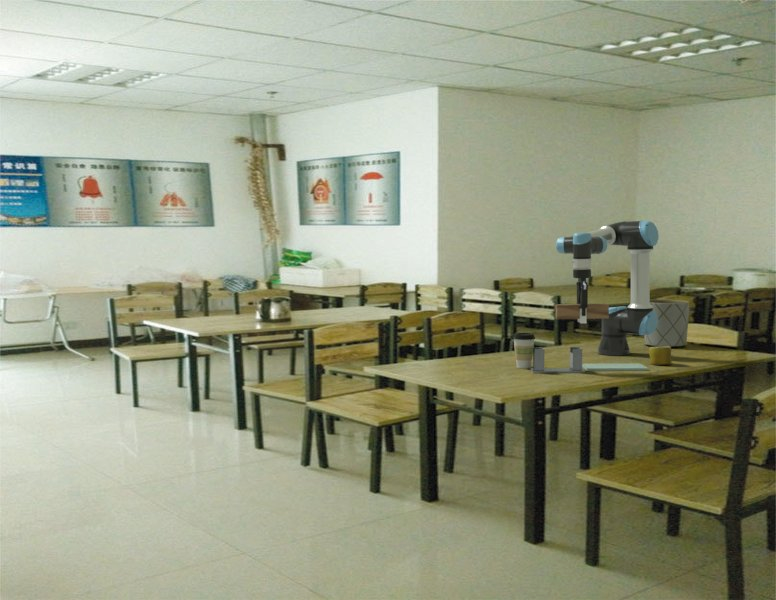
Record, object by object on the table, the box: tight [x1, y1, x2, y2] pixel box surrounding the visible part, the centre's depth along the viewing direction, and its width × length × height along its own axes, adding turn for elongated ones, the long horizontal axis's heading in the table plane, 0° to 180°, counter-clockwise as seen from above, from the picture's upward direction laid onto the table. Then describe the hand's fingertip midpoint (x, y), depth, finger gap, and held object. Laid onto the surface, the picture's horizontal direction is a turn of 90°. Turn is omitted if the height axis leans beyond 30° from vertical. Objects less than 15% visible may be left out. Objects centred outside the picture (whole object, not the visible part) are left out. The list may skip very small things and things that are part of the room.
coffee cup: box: [512, 332, 536, 370], centre depth 336 cm, size 10×10×15 cm
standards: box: [529, 346, 586, 374], centre depth 326 cm, size 8×22×10 cm, turn 87°
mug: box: [648, 346, 672, 366], centre depth 341 cm, size 12×10×10 cm
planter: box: [643, 299, 690, 348], centre depth 394 cm, size 23×23×24 cm
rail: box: [555, 303, 610, 320], centre depth 326 cm, size 4×22×6 cm, turn 86°
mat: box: [582, 363, 649, 372], centre depth 332 cm, size 12×26×1 cm, turn 87°
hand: (582, 322), depth 327 cm, fingers closed on rail, 4 cm apart
